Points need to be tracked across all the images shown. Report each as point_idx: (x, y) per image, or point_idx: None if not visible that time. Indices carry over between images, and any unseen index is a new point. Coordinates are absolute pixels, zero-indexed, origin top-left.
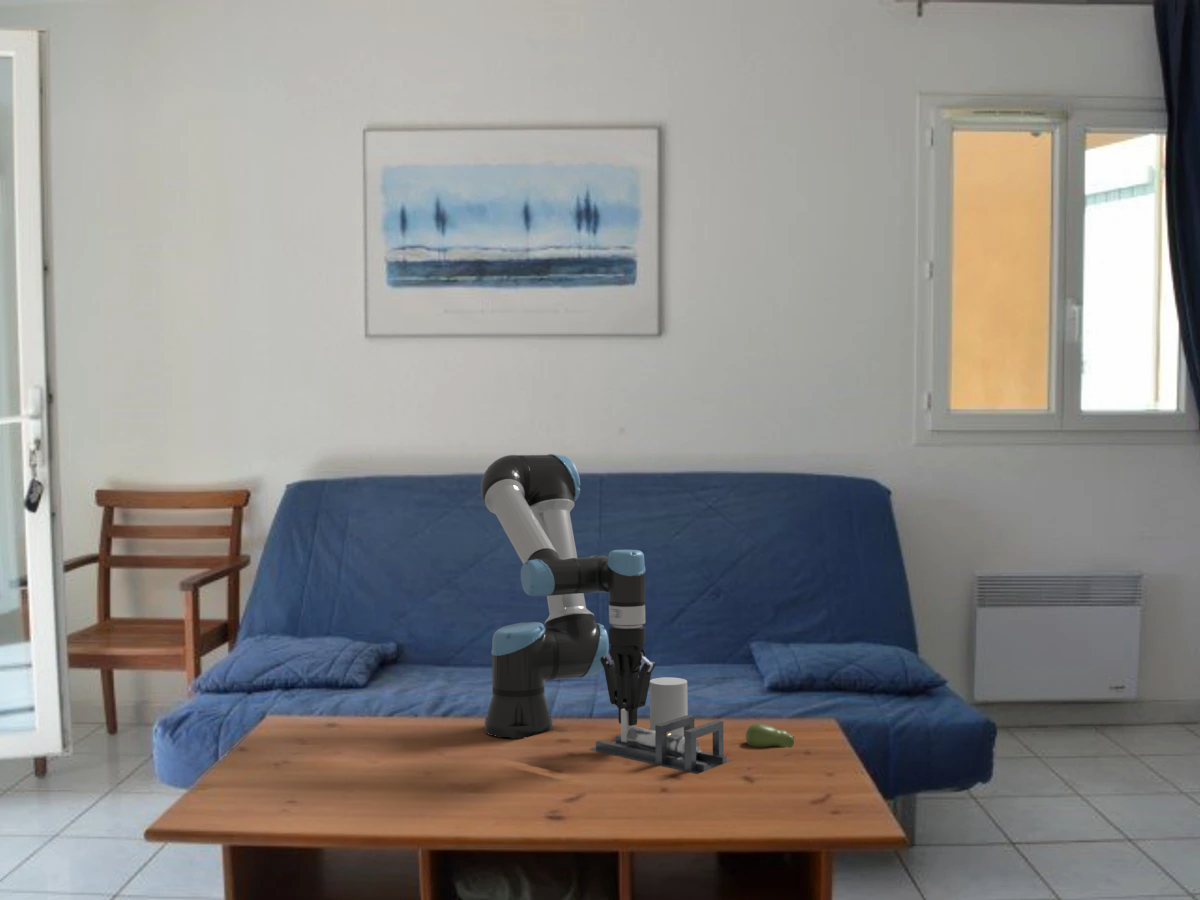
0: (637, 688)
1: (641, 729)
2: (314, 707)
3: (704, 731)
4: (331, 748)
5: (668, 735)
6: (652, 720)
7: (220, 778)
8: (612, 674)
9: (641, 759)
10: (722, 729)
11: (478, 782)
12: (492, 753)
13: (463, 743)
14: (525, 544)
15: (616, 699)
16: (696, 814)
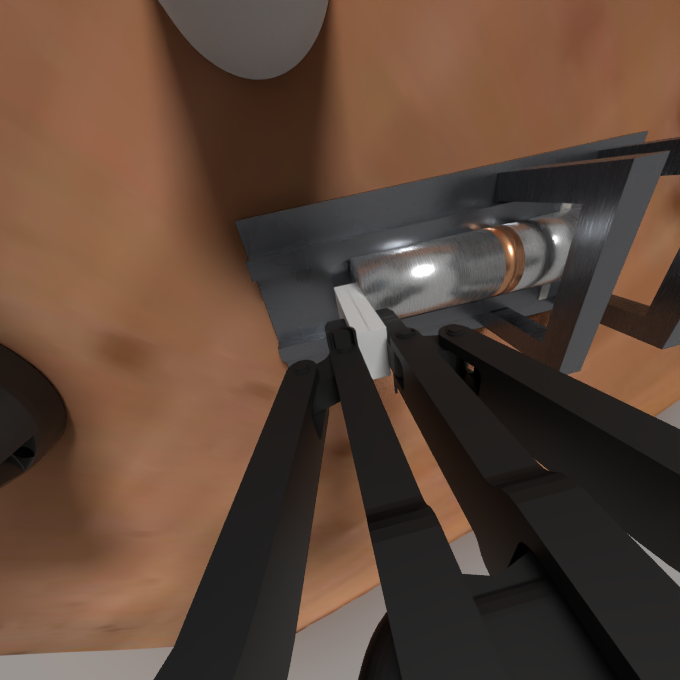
0: (522, 442)
1: (409, 303)
2: None
3: None
4: (42, 609)
5: (520, 280)
6: (215, 32)
7: (155, 644)
8: (296, 562)
9: (435, 328)
10: None
11: (319, 521)
12: (178, 486)
13: (70, 505)
14: None
15: (329, 406)
16: (618, 394)
